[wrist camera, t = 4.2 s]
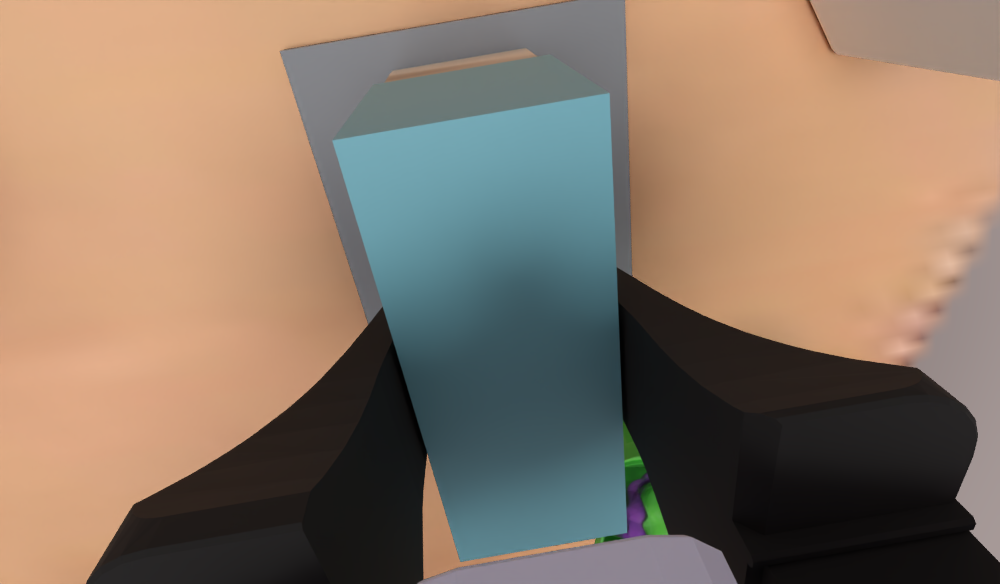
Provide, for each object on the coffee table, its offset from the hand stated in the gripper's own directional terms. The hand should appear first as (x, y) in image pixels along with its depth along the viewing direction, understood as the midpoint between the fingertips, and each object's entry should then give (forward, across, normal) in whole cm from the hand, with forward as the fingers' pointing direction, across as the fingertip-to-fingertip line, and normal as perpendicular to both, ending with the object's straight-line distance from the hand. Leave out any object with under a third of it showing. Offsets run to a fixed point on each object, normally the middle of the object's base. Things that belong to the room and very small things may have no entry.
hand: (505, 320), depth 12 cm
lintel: (+2, 0, 0) cm, 2 cm away
